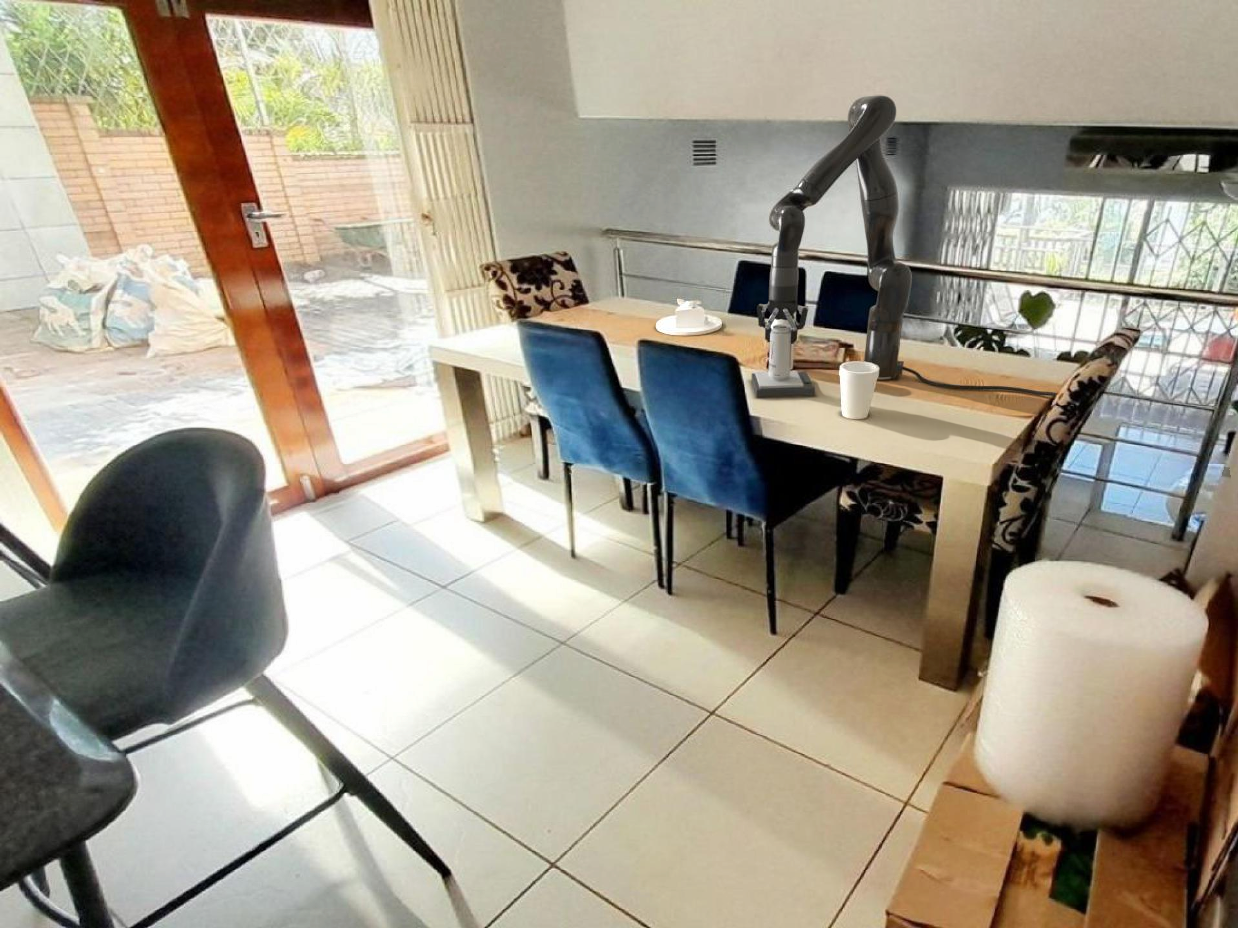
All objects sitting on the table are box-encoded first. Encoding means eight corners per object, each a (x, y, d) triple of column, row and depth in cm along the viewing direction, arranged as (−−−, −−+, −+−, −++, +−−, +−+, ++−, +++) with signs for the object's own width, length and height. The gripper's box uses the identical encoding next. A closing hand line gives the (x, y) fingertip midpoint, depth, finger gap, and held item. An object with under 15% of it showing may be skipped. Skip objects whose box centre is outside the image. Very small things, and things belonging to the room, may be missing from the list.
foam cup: (868, 424, 178) (873, 375, 172) (831, 418, 182) (835, 370, 176) (877, 410, 185) (883, 363, 179) (842, 405, 189) (846, 359, 184)
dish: (726, 333, 255) (726, 302, 250) (657, 337, 256) (656, 306, 251) (718, 315, 277) (718, 287, 272) (654, 319, 278) (653, 290, 273)
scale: (805, 379, 209) (806, 369, 207) (814, 396, 196) (815, 385, 195) (751, 380, 210) (751, 370, 209) (756, 398, 198) (756, 387, 196)
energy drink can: (766, 375, 205) (768, 324, 198) (786, 373, 205) (789, 323, 198) (771, 382, 199) (773, 330, 192) (792, 380, 199) (795, 329, 193)
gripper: (754, 284, 189) (752, 344, 197) (808, 286, 184) (804, 348, 191) (760, 278, 196) (758, 337, 203) (813, 280, 190) (809, 340, 198)
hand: (780, 342), depth 197 cm, fingers closed on energy drink can, 6 cm apart
